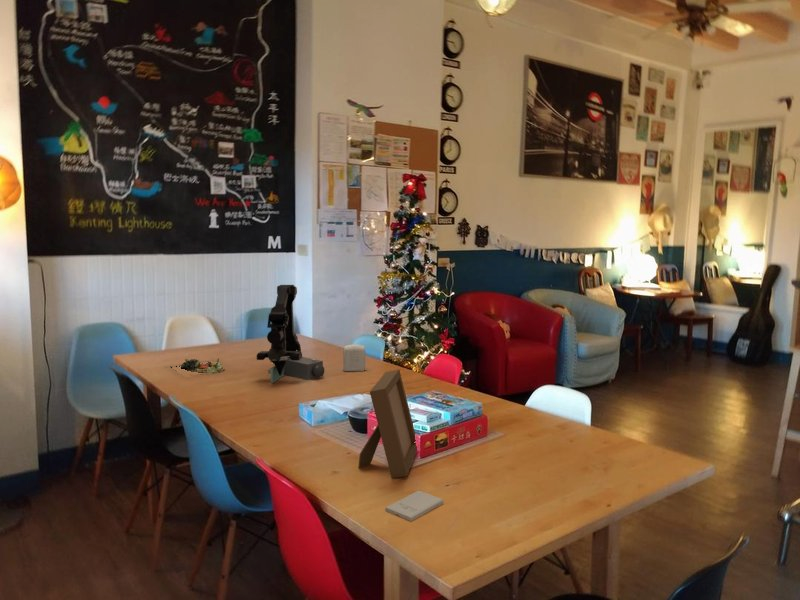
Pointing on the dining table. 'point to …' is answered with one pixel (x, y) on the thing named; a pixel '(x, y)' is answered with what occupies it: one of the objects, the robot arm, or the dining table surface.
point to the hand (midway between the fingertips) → (280, 375)
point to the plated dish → (202, 366)
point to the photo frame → (391, 426)
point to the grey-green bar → (275, 374)
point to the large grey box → (304, 368)
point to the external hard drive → (414, 505)
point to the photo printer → (354, 358)
